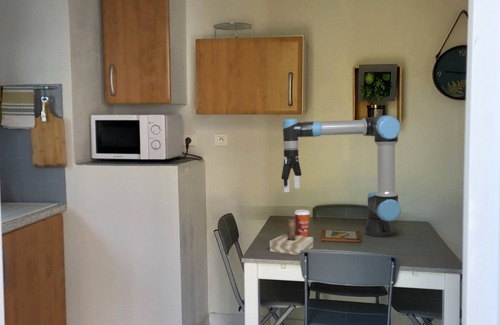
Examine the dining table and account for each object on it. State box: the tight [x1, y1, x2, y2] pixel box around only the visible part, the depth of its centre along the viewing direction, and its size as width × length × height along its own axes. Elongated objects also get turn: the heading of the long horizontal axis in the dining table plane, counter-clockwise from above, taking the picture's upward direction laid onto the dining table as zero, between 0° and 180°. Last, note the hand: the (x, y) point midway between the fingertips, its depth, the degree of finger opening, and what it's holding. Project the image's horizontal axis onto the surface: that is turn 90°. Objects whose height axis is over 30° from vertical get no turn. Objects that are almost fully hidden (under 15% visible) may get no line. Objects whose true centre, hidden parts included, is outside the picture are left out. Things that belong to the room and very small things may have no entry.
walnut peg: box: [287, 218, 296, 241], centre depth 245 cm, size 4×4×15 cm
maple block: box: [269, 233, 314, 256], centre depth 245 cm, size 16×16×5 cm
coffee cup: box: [294, 209, 311, 237], centre depth 266 cm, size 8×8×15 cm
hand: (292, 190), depth 256 cm, fingers open, 13 cm apart
